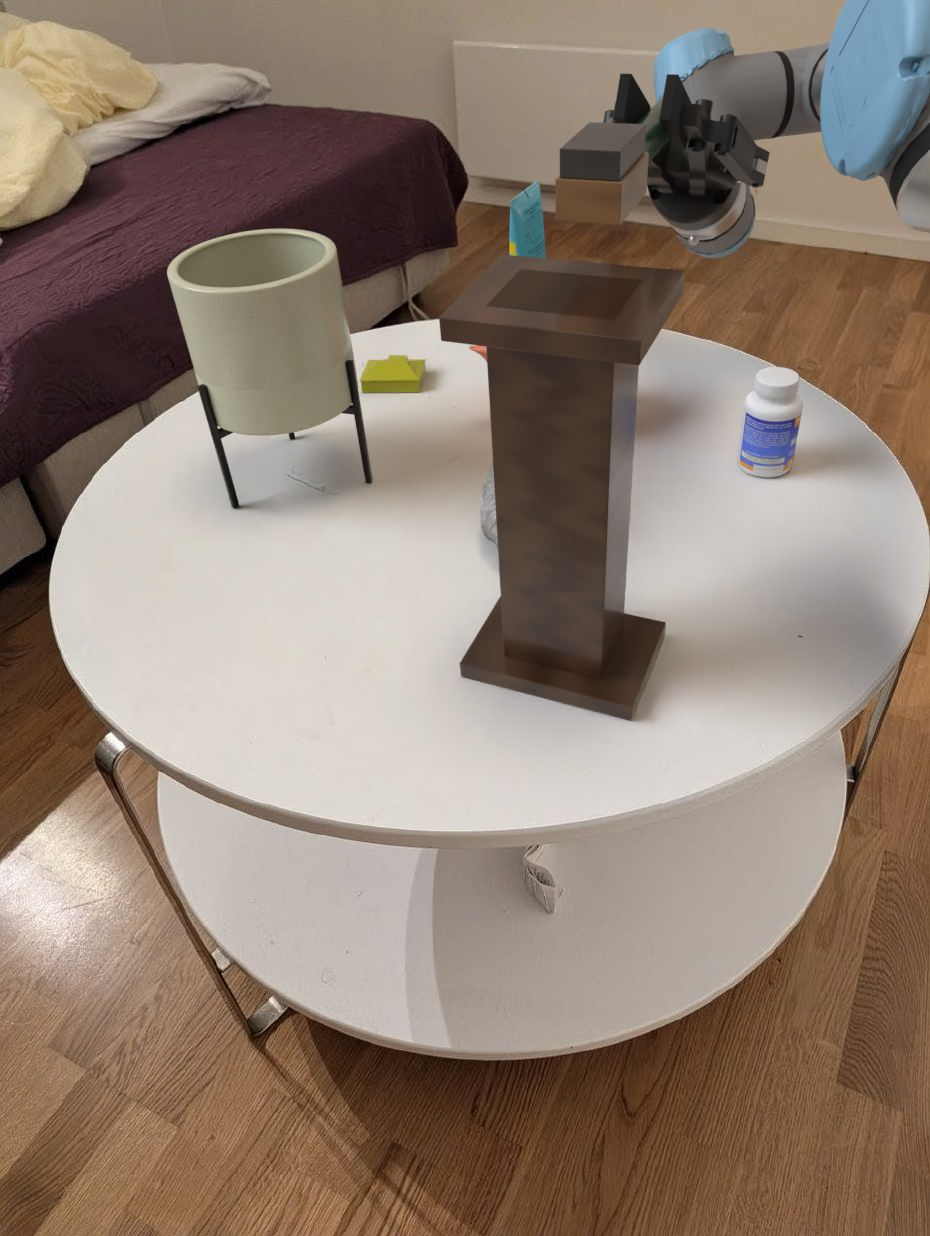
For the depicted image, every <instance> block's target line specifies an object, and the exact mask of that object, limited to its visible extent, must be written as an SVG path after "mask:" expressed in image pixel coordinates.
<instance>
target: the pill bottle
mask: <svg viewBox="0 0 930 1236" xmlns="http://www.w3.org/2000/svg"><path fill="white" fill-rule="evenodd" d="M799 385H800V375H799V373H797V371H795V370H793V369H791V368H787V367H783V366H769V367H765V368H762V369H760V370H759V371H757V373H756V374H755V379H754V384H753V389H754V390H751V392H749V393H748V394H747V396H746V398H745V399H744V406H743V415H742V422H741V430H740V437H739V444H738V445H739V446H738V452H737V464H738V467H739V468H740V469H741V470H742V471H743V472H745V473H747V474H748V475H750V476H754V477H759V478H776V477H780V476H784V475H786V474H787V473H788V472H789V471H790V470H791V468H792V466H793V463H794V460H795V459H794V458H795V453H796V448H797V447H796V446H797V441H798V436H799V430H800V424H801V419H802V413H803V408H804V401H803V399H802V397H801V396H800V395H799V394H798V391H799Z"/></svg>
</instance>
